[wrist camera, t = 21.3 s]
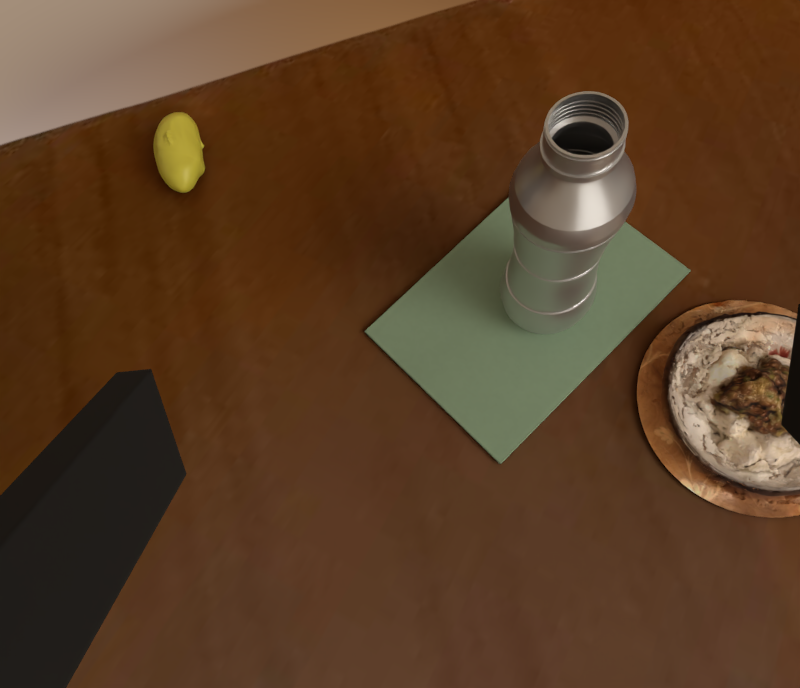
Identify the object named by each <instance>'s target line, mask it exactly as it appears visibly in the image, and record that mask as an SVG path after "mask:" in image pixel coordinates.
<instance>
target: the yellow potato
mask: <svg viewBox="0 0 800 688" xmlns="http://www.w3.org/2000/svg"><path fill="white" fill-rule="evenodd" d="M203 147H204V145H203V143H202V142H201V140H200V136H199V131H198V128H197V125H196V123H195V122H194V121H193V119H192V118H191V117H190V116H189V115H187V114H186V113H183V112H175V113H171V114H169V115H167V116H166V117H164V118H163V119H162V121H161V122H160V124H159V126H158V128H157V130H156V133H155V136H154V143H153V148H154V156H155V160H156V164H157V168H158V171H159V173H160V175H161V177H162V178H163V180H164V181H165V183H166V184H167V185H168V186H169V187H170V188H171V189H173V190H175V191H177V192H180V193H186V192H189V191H190V190H191V189H192V188H193V187H194V186H195V184H196V182H197V180H198V178H199V177H200V176H202V175H203V173H204V171H205V165H204V160H203V153H202V149H203Z"/></svg>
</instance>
